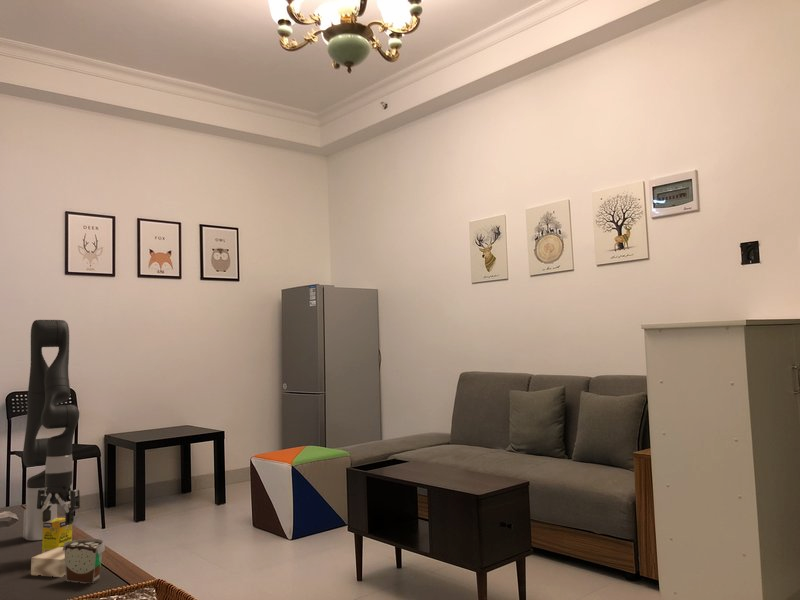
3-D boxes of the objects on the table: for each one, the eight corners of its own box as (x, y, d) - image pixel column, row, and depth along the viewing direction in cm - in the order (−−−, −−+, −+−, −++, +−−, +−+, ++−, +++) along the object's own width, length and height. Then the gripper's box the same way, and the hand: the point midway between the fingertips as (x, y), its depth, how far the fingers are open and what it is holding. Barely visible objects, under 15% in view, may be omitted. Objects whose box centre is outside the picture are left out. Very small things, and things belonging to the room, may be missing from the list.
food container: (114, 577, 174) (115, 539, 175) (97, 584, 168) (98, 546, 169) (80, 573, 178) (80, 536, 179) (61, 580, 172) (62, 542, 173)
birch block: (30, 575, 178) (31, 557, 178) (58, 564, 187) (58, 547, 188) (60, 578, 175) (61, 559, 176) (86, 566, 185) (87, 548, 185)
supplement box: (58, 560, 190) (59, 522, 191) (41, 559, 192) (42, 522, 193) (72, 553, 196) (73, 517, 197) (55, 553, 197) (56, 517, 198)
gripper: (86, 468, 198) (85, 521, 196) (50, 467, 202) (49, 520, 200) (67, 472, 191) (66, 528, 189) (30, 471, 195) (29, 526, 193)
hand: (57, 523), depth 195 cm, fingers open, 8 cm apart
